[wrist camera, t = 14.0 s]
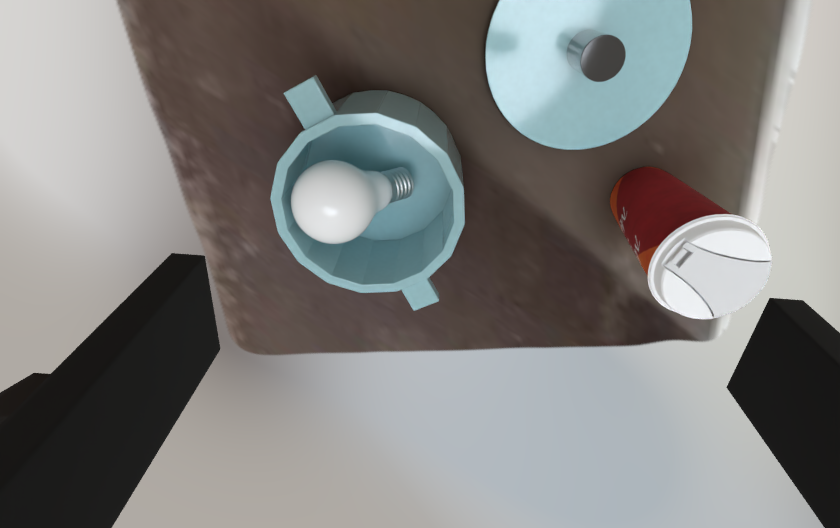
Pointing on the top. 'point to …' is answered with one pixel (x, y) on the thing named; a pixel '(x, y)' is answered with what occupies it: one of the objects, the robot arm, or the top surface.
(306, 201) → the lightbulb
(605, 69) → the lid
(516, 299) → the top surface
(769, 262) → the paper cup
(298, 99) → the pot
